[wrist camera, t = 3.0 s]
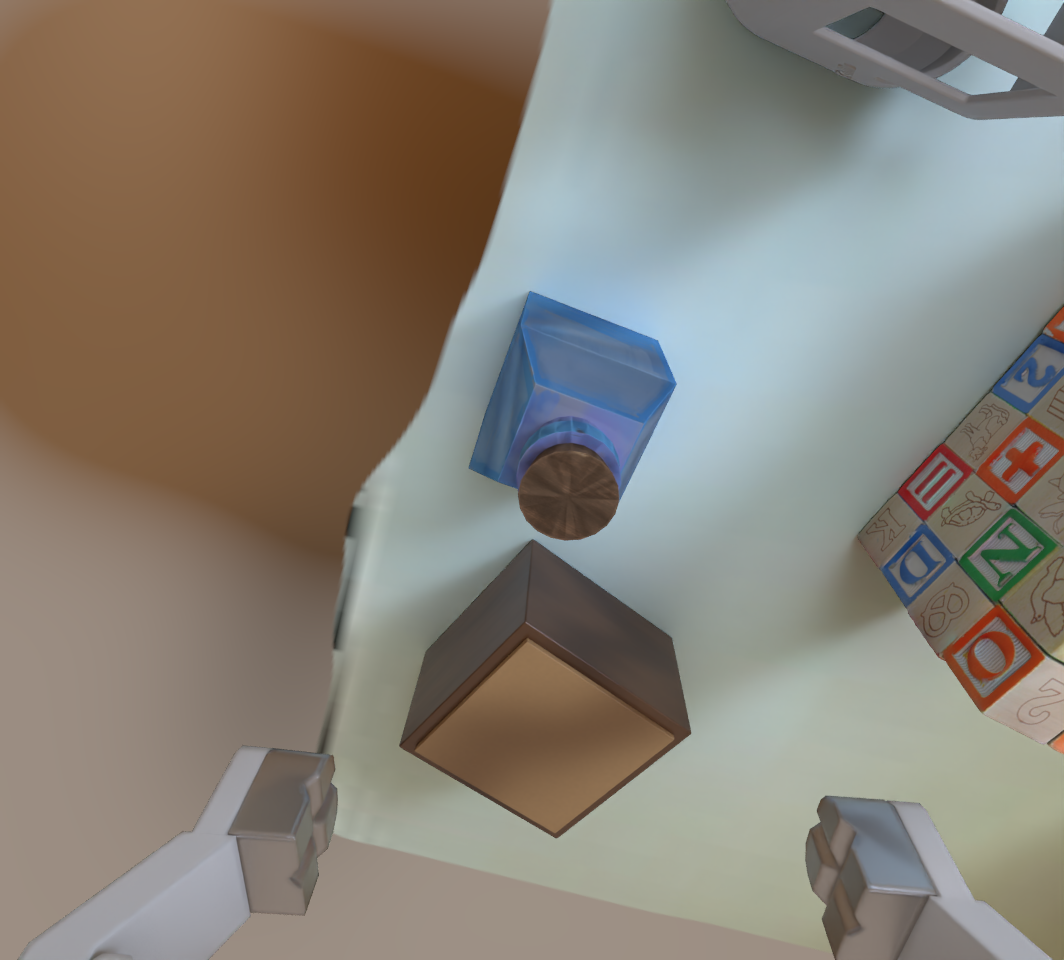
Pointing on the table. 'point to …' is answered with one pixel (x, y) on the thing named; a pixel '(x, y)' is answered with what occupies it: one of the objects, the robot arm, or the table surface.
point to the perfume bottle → (571, 416)
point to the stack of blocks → (992, 546)
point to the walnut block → (547, 694)
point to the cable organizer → (923, 49)
